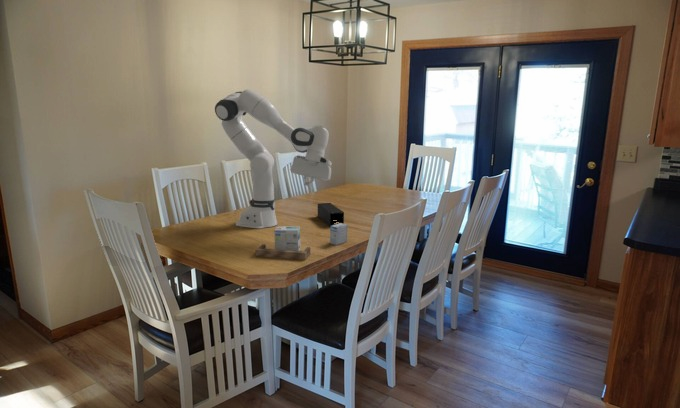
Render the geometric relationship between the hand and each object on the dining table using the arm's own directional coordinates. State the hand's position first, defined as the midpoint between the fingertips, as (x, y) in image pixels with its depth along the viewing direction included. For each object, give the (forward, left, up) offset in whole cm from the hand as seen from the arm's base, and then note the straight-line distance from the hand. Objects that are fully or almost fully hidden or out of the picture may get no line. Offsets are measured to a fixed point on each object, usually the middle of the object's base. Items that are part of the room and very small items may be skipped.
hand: (307, 185), depth 215 cm
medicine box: (+17, -8, -26) cm, 32 cm away
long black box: (+11, +20, -21) cm, 31 cm away
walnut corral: (-3, -31, -25) cm, 40 cm away
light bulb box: (-2, -25, -26) cm, 36 cm away
